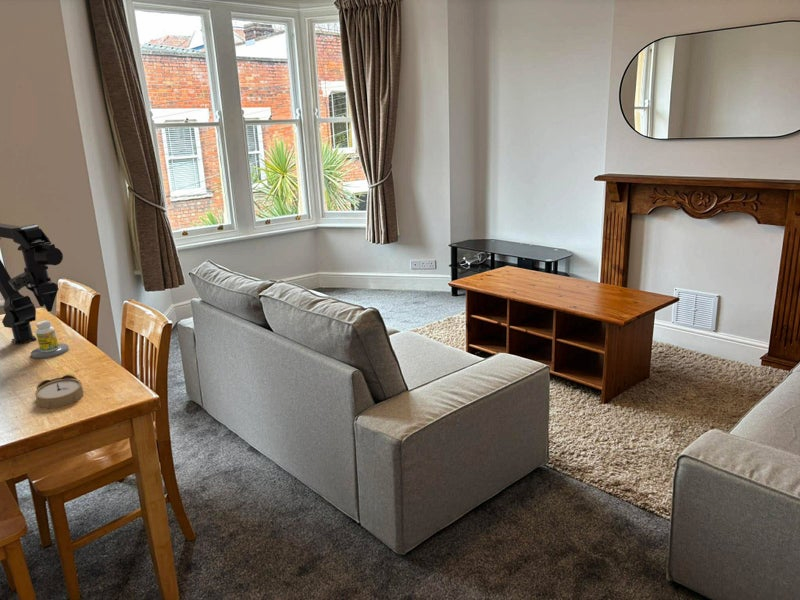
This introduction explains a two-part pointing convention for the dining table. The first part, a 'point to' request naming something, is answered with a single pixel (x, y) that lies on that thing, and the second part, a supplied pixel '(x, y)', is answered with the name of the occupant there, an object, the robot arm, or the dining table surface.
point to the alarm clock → (58, 391)
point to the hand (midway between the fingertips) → (45, 308)
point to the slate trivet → (42, 355)
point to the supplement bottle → (46, 337)
